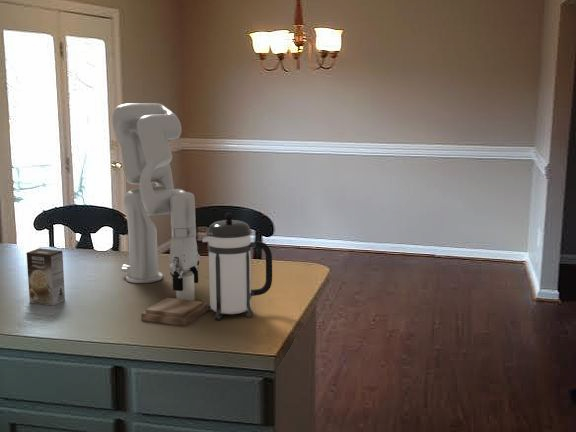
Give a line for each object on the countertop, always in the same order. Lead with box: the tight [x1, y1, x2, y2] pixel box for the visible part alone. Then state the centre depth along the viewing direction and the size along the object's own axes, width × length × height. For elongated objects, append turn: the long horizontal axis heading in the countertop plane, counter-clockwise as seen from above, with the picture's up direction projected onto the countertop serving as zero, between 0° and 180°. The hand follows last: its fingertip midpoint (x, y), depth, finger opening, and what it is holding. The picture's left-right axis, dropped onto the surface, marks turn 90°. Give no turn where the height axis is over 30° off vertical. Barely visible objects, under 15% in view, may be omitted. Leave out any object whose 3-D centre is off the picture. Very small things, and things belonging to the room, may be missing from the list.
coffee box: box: [26, 247, 66, 306], centre depth 214 cm, size 9×6×16 cm
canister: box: [175, 269, 195, 301], centre depth 217 cm, size 6×6×9 cm
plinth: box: [140, 297, 209, 327], centre depth 202 cm, size 14×14×3 cm
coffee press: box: [202, 212, 273, 321], centre depth 202 cm, size 17×16×30 cm
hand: (186, 286), depth 216 cm, fingers open, 9 cm apart
